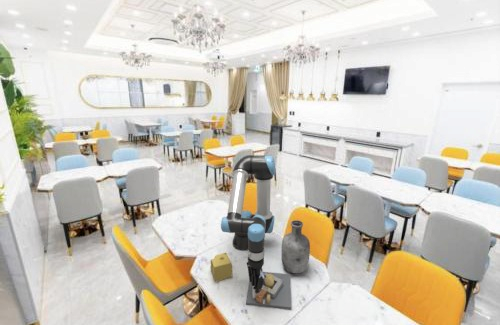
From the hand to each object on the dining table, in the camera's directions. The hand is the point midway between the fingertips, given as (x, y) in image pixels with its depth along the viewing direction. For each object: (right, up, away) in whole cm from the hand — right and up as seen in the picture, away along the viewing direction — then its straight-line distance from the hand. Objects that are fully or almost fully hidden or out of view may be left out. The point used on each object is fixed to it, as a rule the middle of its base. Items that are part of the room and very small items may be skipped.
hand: (255, 296), depth 116 cm
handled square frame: (+6, 0, +5) cm, 7 cm away
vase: (+24, +3, +23) cm, 33 cm away
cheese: (-19, +2, +19) cm, 27 cm away
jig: (+8, -1, +7) cm, 11 cm away
